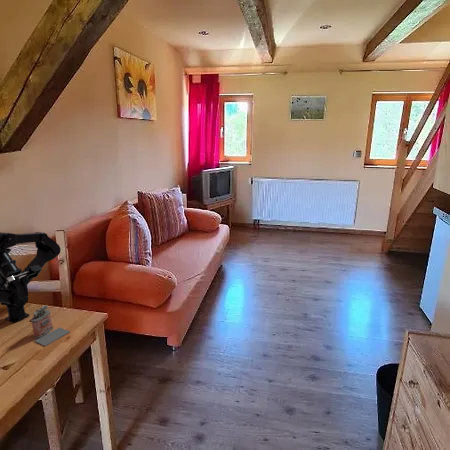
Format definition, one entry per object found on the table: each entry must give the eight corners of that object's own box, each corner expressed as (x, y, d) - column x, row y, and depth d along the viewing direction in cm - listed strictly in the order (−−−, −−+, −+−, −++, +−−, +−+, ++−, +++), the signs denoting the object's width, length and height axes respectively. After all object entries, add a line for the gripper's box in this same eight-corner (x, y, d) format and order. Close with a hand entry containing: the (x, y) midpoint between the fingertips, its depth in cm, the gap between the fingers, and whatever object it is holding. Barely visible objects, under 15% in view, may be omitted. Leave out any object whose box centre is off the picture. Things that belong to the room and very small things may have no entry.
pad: (34, 341, 121) (34, 341, 121) (59, 327, 130) (59, 327, 130) (45, 346, 119) (45, 345, 119) (70, 332, 127) (69, 331, 127)
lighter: (39, 339, 123) (35, 315, 120) (31, 338, 123) (27, 313, 121) (55, 327, 130) (51, 304, 128) (47, 326, 131) (43, 303, 128)
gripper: (22, 267, 140) (43, 297, 138) (-28, 283, 124) (-6, 318, 122) (31, 252, 135) (52, 283, 132) (-21, 267, 119) (3, 303, 116)
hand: (27, 296), depth 126 cm, fingers closed
